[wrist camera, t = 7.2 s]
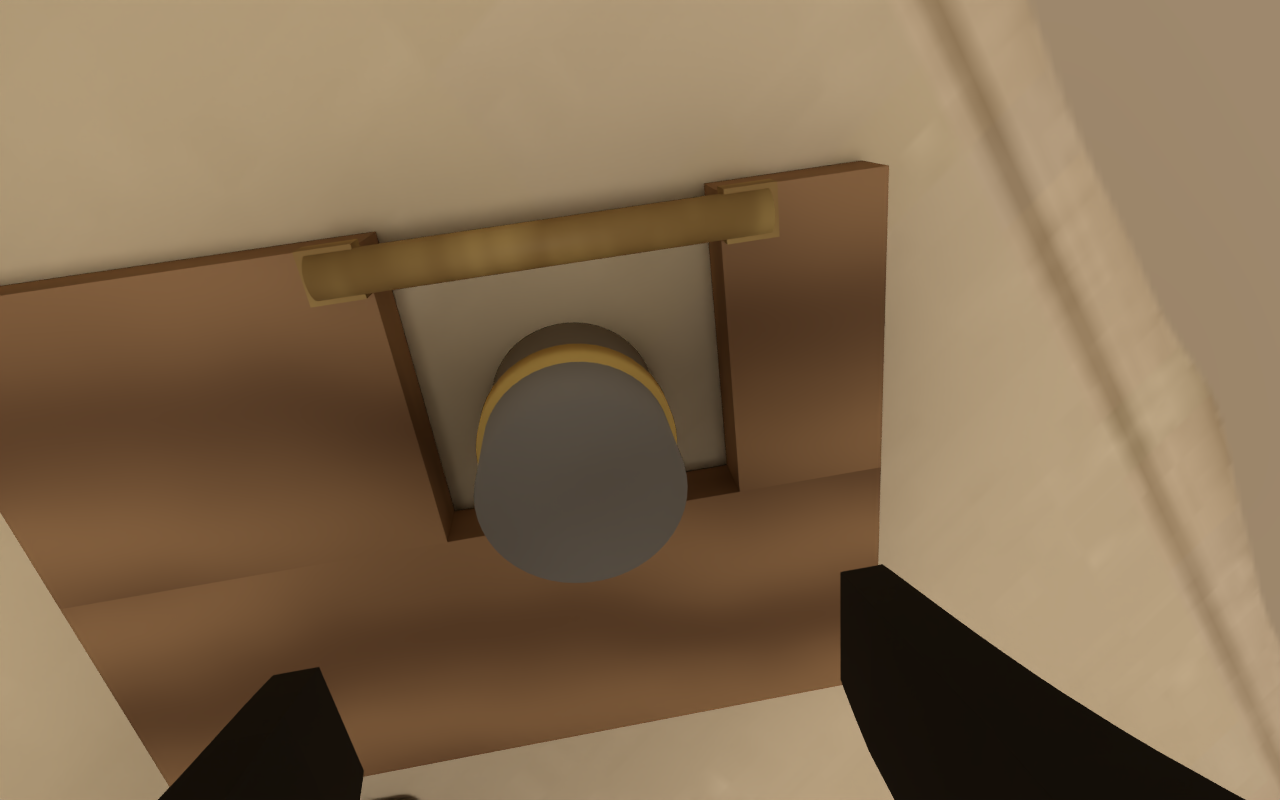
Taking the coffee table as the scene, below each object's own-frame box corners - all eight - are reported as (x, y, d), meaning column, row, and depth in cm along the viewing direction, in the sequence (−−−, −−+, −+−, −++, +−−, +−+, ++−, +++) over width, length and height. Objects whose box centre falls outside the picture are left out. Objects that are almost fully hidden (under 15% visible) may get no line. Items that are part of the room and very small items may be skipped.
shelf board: (856, 645, 23) (888, 703, 21) (207, 767, 22) (167, 843, 20) (861, 156, 17) (909, 164, 14) (-65, 291, 15) (-172, 322, 13)
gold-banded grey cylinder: (655, 310, 18) (693, 382, 13) (660, 466, 20) (695, 575, 15) (474, 324, 17) (448, 403, 13) (497, 482, 19) (482, 600, 15)
